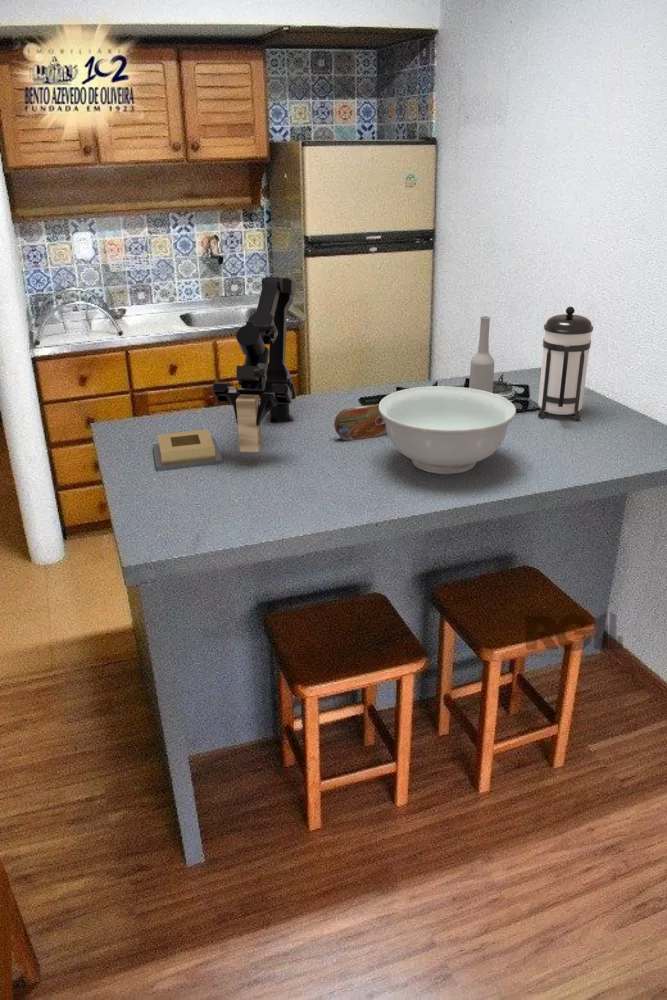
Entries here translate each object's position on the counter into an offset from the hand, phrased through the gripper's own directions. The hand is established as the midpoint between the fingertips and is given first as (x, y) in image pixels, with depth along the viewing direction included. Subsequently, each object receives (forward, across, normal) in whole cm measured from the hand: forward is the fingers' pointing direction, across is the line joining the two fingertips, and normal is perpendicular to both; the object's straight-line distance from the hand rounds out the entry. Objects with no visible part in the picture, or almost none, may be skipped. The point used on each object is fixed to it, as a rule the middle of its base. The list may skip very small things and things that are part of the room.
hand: (247, 424), depth 186 cm
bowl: (+3, +47, +12) cm, 49 cm away
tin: (-8, +25, +23) cm, 35 cm away
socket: (+4, -18, +11) cm, 21 cm away
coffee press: (-24, +78, +39) cm, 91 cm away
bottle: (-21, +56, +37) cm, 70 cm away
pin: (+4, 0, +6) cm, 7 cm away
